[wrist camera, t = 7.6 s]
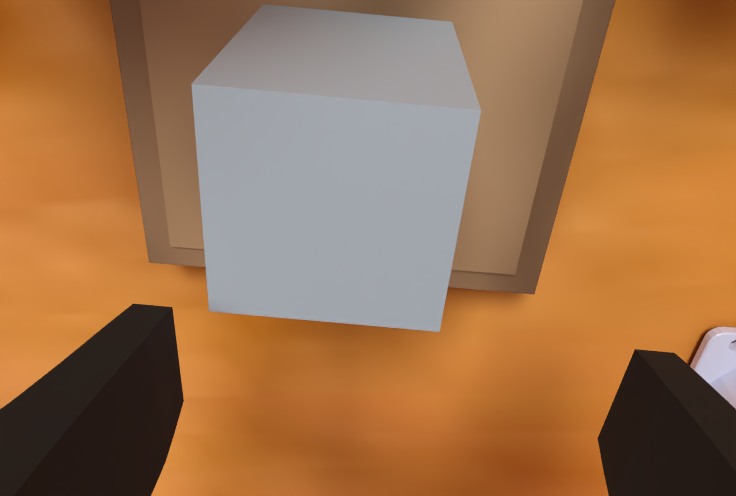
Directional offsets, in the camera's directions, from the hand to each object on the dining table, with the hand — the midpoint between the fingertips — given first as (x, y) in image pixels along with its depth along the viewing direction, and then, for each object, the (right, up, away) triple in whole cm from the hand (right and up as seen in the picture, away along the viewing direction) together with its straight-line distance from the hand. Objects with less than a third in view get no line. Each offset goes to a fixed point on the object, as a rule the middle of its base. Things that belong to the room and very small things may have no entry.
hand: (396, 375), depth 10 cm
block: (-1, +6, +6) cm, 8 cm away
